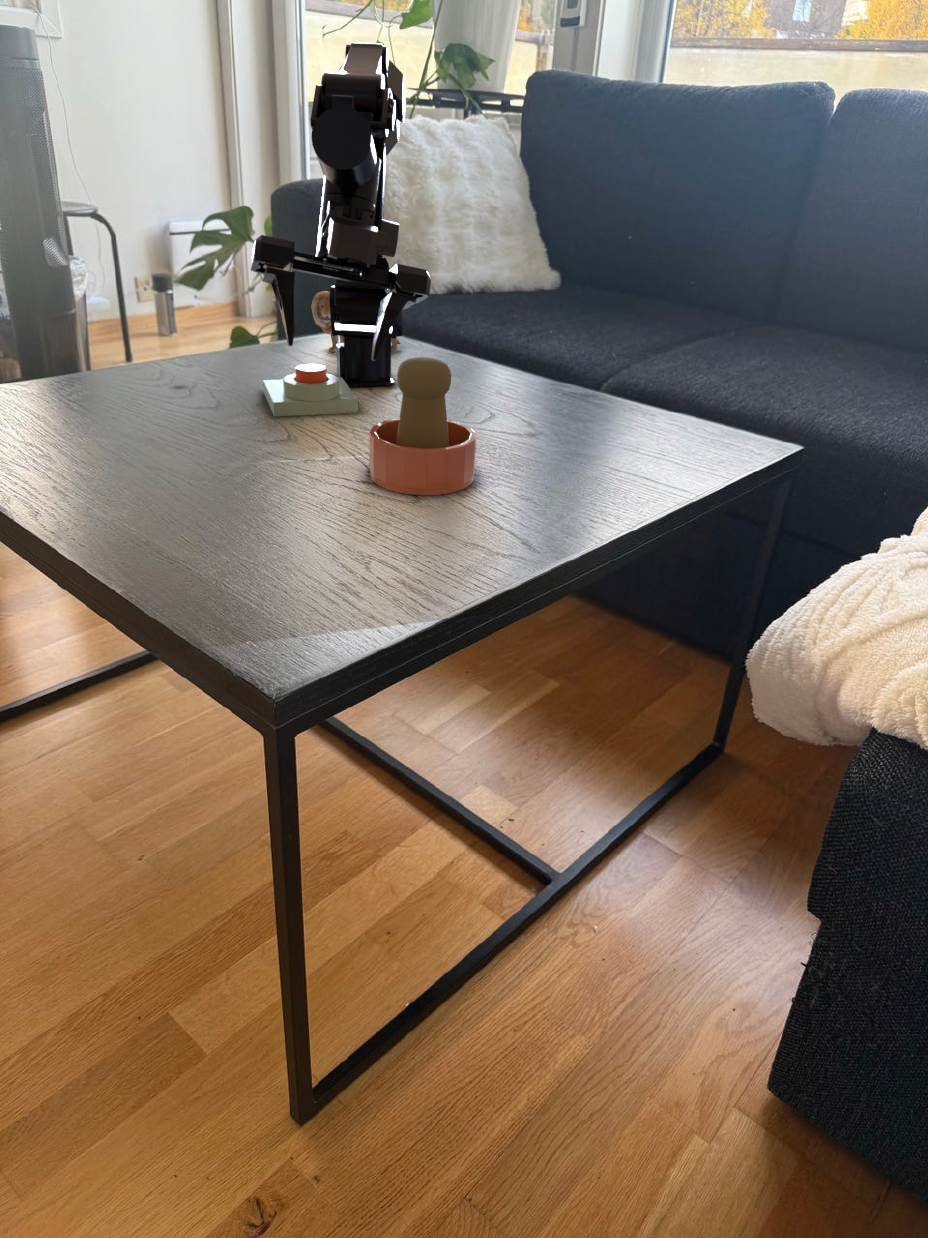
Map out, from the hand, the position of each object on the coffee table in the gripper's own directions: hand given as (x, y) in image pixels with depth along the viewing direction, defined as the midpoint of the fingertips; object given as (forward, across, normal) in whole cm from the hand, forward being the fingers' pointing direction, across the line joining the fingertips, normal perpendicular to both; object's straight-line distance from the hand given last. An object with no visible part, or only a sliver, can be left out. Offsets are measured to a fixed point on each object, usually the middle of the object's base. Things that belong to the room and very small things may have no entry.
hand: (332, 352), depth 97 cm
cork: (+11, +8, -12) cm, 19 cm away
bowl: (+12, +8, -12) cm, 19 cm away
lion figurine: (-5, +9, +37) cm, 38 cm away
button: (+3, -1, +10) cm, 11 cm away
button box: (+5, 0, +13) cm, 14 cm away
